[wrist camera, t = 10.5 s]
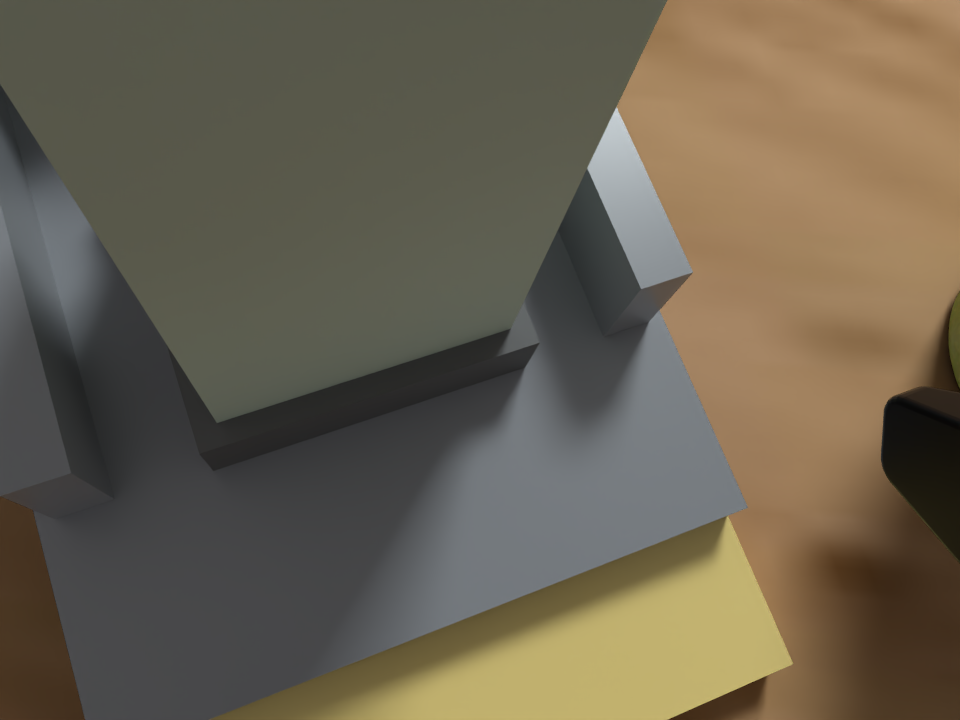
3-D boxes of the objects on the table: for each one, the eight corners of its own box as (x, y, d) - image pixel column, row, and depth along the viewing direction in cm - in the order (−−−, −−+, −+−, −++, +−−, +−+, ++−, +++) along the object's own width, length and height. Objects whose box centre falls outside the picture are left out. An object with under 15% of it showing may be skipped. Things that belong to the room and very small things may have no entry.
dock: (770, 662, 18) (956, 671, 13) (172, 926, 16) (64, 1085, 10) (473, -19, 22) (512, -247, 17) (-42, 98, 20) (-204, -124, 14)
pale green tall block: (525, 367, 17) (987, -414, 5) (213, 471, 16) (-359, -217, 3) (419, 103, 19) (548, -1052, 6) (125, 178, 17) (-512, -1094, 5)
